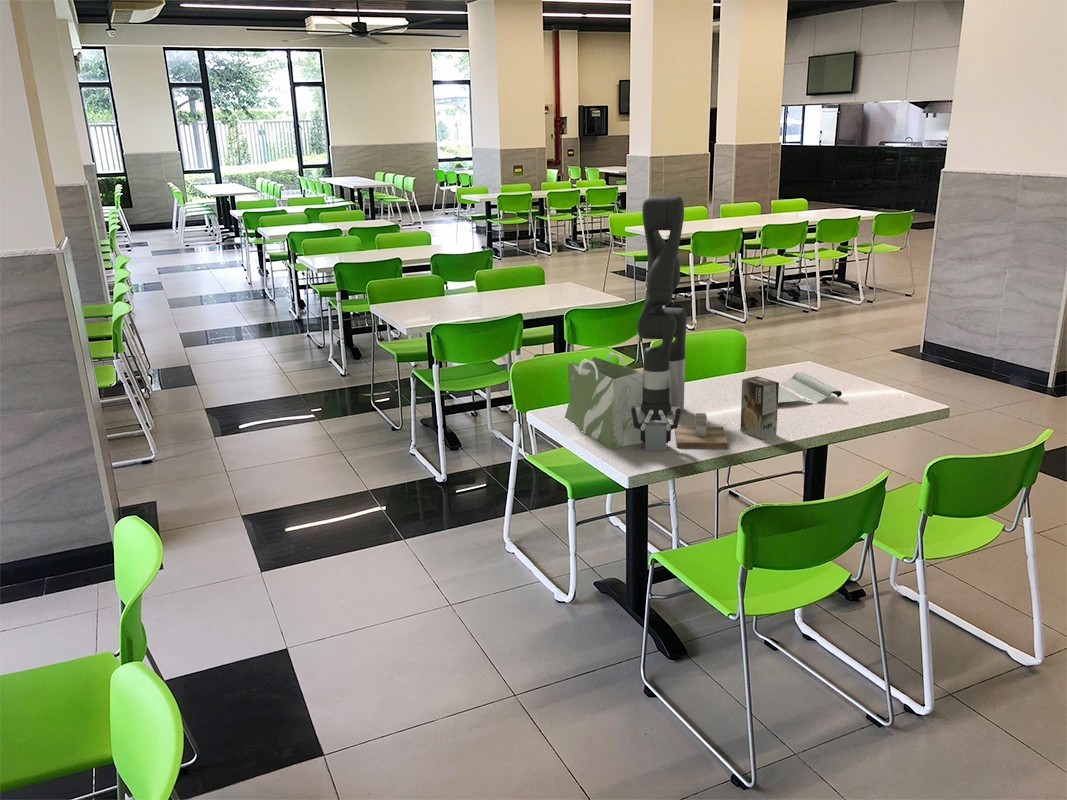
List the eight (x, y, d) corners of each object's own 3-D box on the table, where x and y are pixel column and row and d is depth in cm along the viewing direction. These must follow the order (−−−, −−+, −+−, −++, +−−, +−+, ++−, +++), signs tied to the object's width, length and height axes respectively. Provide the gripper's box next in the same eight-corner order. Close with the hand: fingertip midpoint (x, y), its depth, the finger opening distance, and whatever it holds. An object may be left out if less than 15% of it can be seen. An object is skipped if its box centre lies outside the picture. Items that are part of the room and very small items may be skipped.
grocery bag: (560, 418, 259) (559, 347, 253) (599, 412, 264) (599, 342, 258) (608, 449, 231) (608, 370, 224) (651, 441, 236) (652, 364, 229)
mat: (742, 390, 285) (743, 377, 283) (804, 384, 289) (805, 371, 288) (775, 409, 263) (776, 395, 261) (841, 402, 268) (842, 388, 266)
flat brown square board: (674, 431, 244) (675, 407, 242) (722, 431, 242) (723, 407, 240) (676, 447, 231) (677, 422, 229) (727, 448, 229) (728, 422, 227)
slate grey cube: (645, 443, 235) (645, 419, 233) (665, 443, 234) (665, 419, 232) (645, 450, 229) (645, 425, 227) (666, 450, 228) (666, 426, 226)
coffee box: (777, 435, 238) (780, 382, 233) (761, 439, 235) (764, 385, 230) (754, 427, 245) (757, 375, 241) (738, 431, 242) (741, 378, 238)
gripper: (681, 381, 229) (680, 438, 234) (630, 381, 231) (630, 437, 236) (683, 388, 222) (681, 447, 227) (629, 388, 224) (629, 446, 228)
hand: (655, 441), depth 231 cm, fingers closed on slate grey cube, 5 cm apart
